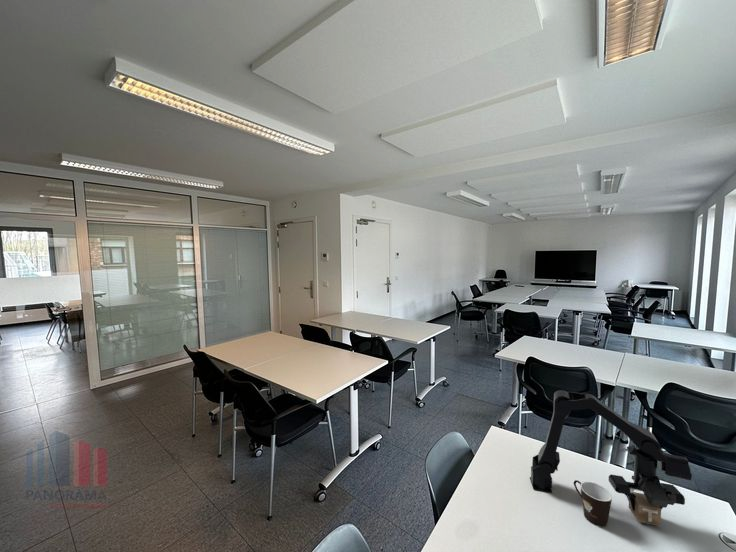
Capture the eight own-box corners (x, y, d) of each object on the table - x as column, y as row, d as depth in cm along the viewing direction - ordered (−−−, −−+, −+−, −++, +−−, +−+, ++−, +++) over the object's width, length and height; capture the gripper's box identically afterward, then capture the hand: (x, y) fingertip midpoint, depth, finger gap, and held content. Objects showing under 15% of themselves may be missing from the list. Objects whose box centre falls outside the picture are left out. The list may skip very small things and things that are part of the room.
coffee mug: (617, 532, 96) (618, 503, 95) (588, 527, 98) (588, 499, 97) (597, 503, 107) (597, 477, 107) (571, 500, 109) (571, 474, 109)
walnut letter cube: (638, 522, 98) (639, 505, 98) (628, 507, 104) (629, 491, 104) (661, 526, 96) (661, 509, 96) (649, 511, 102) (649, 494, 102)
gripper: (624, 479, 95) (623, 525, 96) (699, 492, 89) (697, 541, 90) (608, 457, 105) (607, 498, 106) (673, 467, 100) (672, 511, 101)
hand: (644, 512), depth 100 cm, fingers closed on walnut letter cube, 6 cm apart
